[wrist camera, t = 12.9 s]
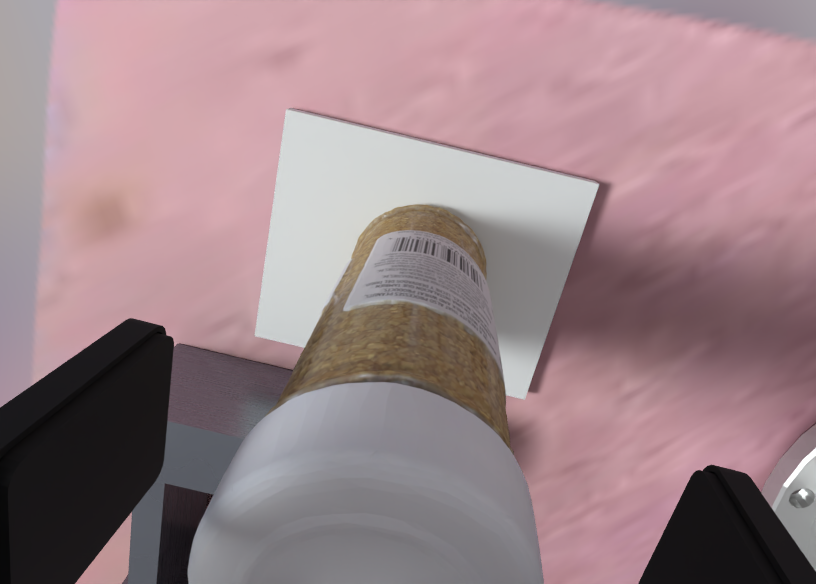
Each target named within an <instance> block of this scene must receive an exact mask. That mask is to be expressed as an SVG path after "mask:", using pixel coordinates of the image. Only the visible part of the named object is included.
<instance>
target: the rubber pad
mask: <svg viewBox="0 0 816 584" xmlns="http://www.w3.org/2000/svg"><path fill="white" fill-rule="evenodd" d="M598 187H599V183H597V182H596V181H594V180H590V179H586V178H581V177H577V176H573V175H569V174H565V173H561V172H556V171H552V170H548V169H544V168H540V167H536V166H531V165H527V164H523V163H519V162H515V161H510V160H506V159H502V158H498V157H494V156H490V155H485V154H481V153H477V152H473V151H469V150H465V149H460V148H456V147H452V146H448V145H444V144H439V143H435V142H431V141H427V140H423V139H419V138H414V137H410V136H406V135H402V134H398V133H394V132H389V131H385V130H381V129H377V128H373V127H368V126H364V125H360V124H356V123H352V122H348V121H343V120H339V119H335V118H331V117H327V116H323V115H318V114H314V113H310V112H306V111H302V110H298V109H293V108H289V109H286V114H285V121H284V128H283V135H282V143H281V150H280V157H279V164H278V171H277V179H276V186H275V193H274V200H273V207H272V215H271V222H270V229H269V236H268V243H267V251H266V258H265V265H264V272H263V279H262V287H261V294H260V301H259V308H258V315H257V322H256V330H255V336H257V337H261V338H265V339H269V340H274V341H278V342H282V343H286V344H291V345H295V346H299V347H303V348H305V346H306V344H307V342H308V340H309V338H310V337H311V334H312V332H313V330H314V328H315V327H316V324H317V321H318V318H319V315H320V312H321V310H322V308H323V306H324V304H325V302H326V300H327V298H328V296H329V294H330V293H331V291H332V289H333V287H334V285H335V283H336V281H337V279H338V278H339V276H340V274H341V272H342V270H343V269H344V267H345V266H346V264H347V263H348V262H349V261H350V260H351V257H352V254H353V251H354V249H355V246H356V244H357V241H358V238H359V236H360V235H361V234H362V232H363V231H364V230H365V229H366V227H367V226H368V225H369V224H370V223H371V222H372V221H373V220H374V219H375V218H376V217H378V216H380V215H382V214H383V213H385V212H388V211H390V210H392V209H394V208H396V207H403V206H407V205H416V204H421V205H430V206H433V207H439V208H442V209H445V210H447V211H449V212H450V213H451V214H453V215H455V216H457V217H459V218H460V219H461V220H462V221H463V222H464V223H465V224H467V225H468V226H469V227H470V228H471V229H472V230H473V231H474V233H475V234H476V236H477V237H478V239H479V241H480V243H481V245H482V247H483V250H484V254H485V257H486V263H487V264H486V272H487V278H486V282H487V285H488V288H489V291H490V296H491V302H492V308H493V313H494V319H495V325H496V331H497V337H498V344H499V350H500V357H501V363H502V369H503V376H504V382H505V390H506V395H507V396H511V397H516V398H520V399H524V400H525V397H526V394H527V391H528V389H529V386H530V383H531V380H532V377H533V374H534V371H535V368H536V365H537V363H538V360H539V357H540V354H541V351H542V348H543V345H544V342H545V340H546V337H547V334H548V331H549V328H550V325H551V322H552V319H553V317H554V314H555V311H556V308H557V305H558V302H559V299H560V296H561V293H562V291H563V288H564V285H565V282H566V279H567V276H568V273H569V270H570V268H571V265H572V262H573V259H574V256H575V253H576V250H577V247H578V245H579V242H580V239H581V236H582V233H583V230H584V227H585V224H586V221H587V219H588V216H589V213H590V210H591V207H592V204H593V201H594V198H595V196H596V193H597V190H598Z"/></svg>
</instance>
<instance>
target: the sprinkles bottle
mask: <svg viewBox="0 0 816 584" xmlns="http://www.w3.org/2000/svg"><path fill="white" fill-rule="evenodd" d="M486 264H487V263H486V257H485V254H484V250H483V247H482V245H481V243H480V241H479V239H478V237H477V236H476V234H475V233H474V231H473V230H472V229H471V228H470V227H469V226H468V225H467V224H465V223H464V222H463V221H462V220H461V219H460V218H459V217H457V216H455V215H453V214H451V213H450V212H449V211H447V210H445V209H442V208H439V207H433V206H430V205H421V204H416V205H407V206H403V207H396V208H394V209H392V210H390V211H388V212H385V213H383V214H382V215H380V216H378V217H376V218H375V219H374V220H373V221H372V222H371V223H370V224H369V225H368V226H367V227H366V229H365V230H364V231H363V232H362V234H361V235H360V236H359V238H358V241H357V244H356V246H355V249H354V251H353V254H352V257H351V260H350V261H349V262H348V263H347V264H346V266H345V267H344V269H343V270H342V272H341V274H340V276H339V278H338V279H337V281H336V283H335V285H334V287H333V289H332V291H331V293H330V294H329V296H328V298H327V300H326V302H325V304H324V306H323V308H322V310H321V312H320V315H319V318H318V321H317V324H316V327H315V328H314V330H313V332H312V334H311V337H310V338H309V340H308V342H307V344H306V346H305V348H304V350H303V352H302V353H301V356H300V358H299V360H298V362H297V364H296V366H295V368H294V370H293V372H292V375H291V377H290V379H289V382H288V383H287V385H286V387H285V388H284V390H283V392H282V394H281V396H280V398H279V400H278V402H277V404H276V406H274V407H273V408H272V409H271V410H270V411H269V412H268V413H267V414H266V416H265V417H264V418H263V419H262V420H261V421H260V422H259V423H258V424H257V425H256V426H255V427H254V428H253V429H252V430H251V431H250V432H249V433H248V435H247V436H246V437H245V439H244V440H243V442H242V443H241V445H240V447H239V449H238V450H237V452H236V454H235V456H234V457H233V459H232V461H231V463H230V465H229V466H228V468H227V470H226V472H225V474H224V475H223V477H222V479H221V481H220V483H219V485H218V487H217V489H216V491H215V493H214V495H213V497H212V499H211V501H210V503H209V505H208V507H207V509H206V511H205V513H204V515H203V517H202V519H201V521H200V523H199V526H198V528H197V531H196V534H195V536H194V539H193V543H192V548H191V552H190V557H189V564H188V583H189V584H544V580H543V572H542V564H541V557H540V549H539V543H538V536H537V530H536V523H535V517H534V512H533V506H532V501H531V497H530V493H529V489H528V485H527V482H526V480H525V477H524V475H523V473H522V470H521V468H520V466H519V464H518V462H517V460H516V459H515V457H514V452H513V450H512V449H511V447H510V438H509V430H508V423H507V415H506V409H505V407H506V390H505V382H504V376H503V369H502V363H501V357H500V350H499V344H498V337H497V331H496V325H495V319H494V313H493V308H492V302H491V296H490V291H489V288H488V285H487V282H486V278H487V272H486Z"/></svg>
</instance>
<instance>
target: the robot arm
mask: <svg viewBox="0 0 816 584" xmlns="http://www.w3.org/2000/svg"><path fill="white" fill-rule="evenodd" d="M173 350H174V341H173V338H172V337H170V336H167V335H166V331H165V328H164V327H163V326H160V325H156V324H152V323H149V322H145V321H141V320H137V319H132V318H130V319H127V320H125V321H124V322H123V323H121V324H120V325H118V326H117V327H115V328H114V329H113V330H111V331H110V332H108V333H107V334H105V335H104V336H103V337H101V338H100V339H98V340H97V341H95V342H94V343H92V344H91V345H90V346H88V347H87V348H85V349H84V350H82V351H81V352H80V353H78V354H77V355H75V356H74V357H72V358H71V359H69V360H68V361H67V362H65V363H64V364H62V365H61V366H59V367H58V368H57V369H55V370H54V371H52V372H51V373H49V374H48V375H46V376H45V377H44V378H42V379H41V380H39V381H38V382H36V383H35V384H34V385H32V386H31V387H29V388H28V389H26V390H25V391H24V392H22V393H21V394H19V395H18V396H16V397H15V398H14V399H12V400H11V401H9V402H8V403H6V404H5V405H3V406H2V407H1V408H0V584H75V583H76V582H77V580H78V579H79V578H80V576H81V575H82V574H83V573H84V571H85V570H86V569H87V568H88V566H89V565H90V564H91V563H92V561H93V560H94V559H95V557H96V556H97V555H98V554H99V552H100V551H101V550H102V549H103V547H104V546H105V545H106V544H107V542H108V541H109V540H110V538H111V537H112V536H113V535H114V533H115V532H116V531H117V530H118V528H119V527H120V526H121V524H122V523H123V522H124V521H125V519H126V518H127V517H128V516H129V514H130V513H131V512H132V511H133V509H134V508H135V507H136V505H137V504H138V503H139V502H140V500H141V499H142V498H143V497H144V495H145V494H146V493H147V492H148V490H149V489H150V488H151V486H152V485H153V484H154V483H155V481H156V480H157V478H158V476H159V474H160V472H161V470H162V467H163V463H164V455H165V444H166V432H167V420H168V408H169V397H170V385H171V373H172V362H173ZM639 584H816V424H815V425H814V426H812V427H811V428H810V429H809V430H807V431H806V432H805V433H804V434H802V435H801V437H800V438H799V439H798V440H797V441H796V442H795V443H794V444H793V445H792V446H791V447H790V448H789V450H788V451H787V452H786V453H785V454H784V455H783V456H782V457H781V458H780V460H779V461H778V463H777V465H776V466H775V468H774V469H773V471H772V473H771V474H770V476H769V477H768V479H767V480H766V482H765V484H764V486H763V489H762V492H760V490H759V489H758V488H757V486H756V485H755V483H754V482H753V480H752V479H751V478H750V477H749V476H748V475H747V474H745V473H743V472H739V471H735V470H731V469H727V468H723V467H719V466H715V465H709V466H707V467H706V468H705V469H704V470H703V471H701V470H698V471H696V472H694V473H693V475H692V476H691V478H690V480H689V482H688V484H687V486H686V488H685V490H684V492H683V494H682V496H681V498H680V500H679V502H678V504H677V506H676V508H675V510H674V512H673V514H672V516H671V518H670V520H669V522H668V524H667V526H666V528H665V530H664V533H663V535H662V537H661V539H660V541H659V543H658V545H657V547H656V549H655V551H654V553H653V555H652V557H651V559H650V561H649V563H648V565H647V567H646V569H645V571H644V573H643V575H642V577H641V579H640V581H639Z"/></svg>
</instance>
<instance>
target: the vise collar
mask: <svg viewBox="0 0 816 584" xmlns="http://www.w3.org/2000/svg"><path fill="white" fill-rule="evenodd" d="M292 372H293V371H292V370H288V369H284V368H280V367H275V366H271V365H267V364H263V363H258V362H254V361H250V360H246V359H241V358H237V357H233V356H229V355H224V354H220V353H216V352H212V351H207V350H203V349H199V348H195V347H190V346H186V345H182V344H177V345H176V346H175V347H174V350H173V362H172V373H171V385H170V397H169V408H168V420H167V432H166V444H165V455H164V463H163V467H162V470H161V472H160V474H159V476H158V478H157V480H156V481H155V483H154V484H153V485H152V486H151V488H150V489H149V490H148V492H147V493H146V494H145V495H144V497H143V498H142V499H141V500H140V502H139V503H138V504H137V505H136V507H135V508H134V509H133V511H132V523H131V540H130V557H129V574H128V575H127V577H126V579H125V580H124V582H123V583H122V584H189V583H188V564H189V557H190V552H191V548H192V543H193V539H194V536H195V534H196V531H197V528H198V526H199V523H200V521H201V519H202V517H203V515H204V513H205V511H206V504H207V495H208V493H209V494H213V495H214V493H215V491H216V489H217V487H218V485H219V483H220V481H221V479H222V477H223V475H224V474H225V472H226V470H227V468H228V466H229V465H230V463H231V461H232V459H233V457H234V456H235V454H236V452H237V450H238V449H239V447H240V445H241V443H242V442H243V440H244V439H245V437H246V436H247V435H248V433H249V432H250V431H251V430H252V429H253V428H254V427H255V426H256V425H257V424H258V423H259V422H260V421H261V420H262V419H263V418H264V417H265V416H266V414H267V413H268V412H269V411H270V410H271V409H272V408H273V407H274V406H276V404H277V402H278V400H279V398H280V396H281V394H282V392H283V390H284V388H285V387H286V385H287V383H288V382H289V379H290V377H291V375H292Z"/></svg>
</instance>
